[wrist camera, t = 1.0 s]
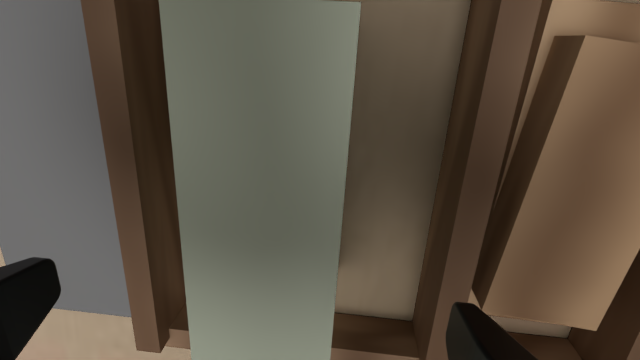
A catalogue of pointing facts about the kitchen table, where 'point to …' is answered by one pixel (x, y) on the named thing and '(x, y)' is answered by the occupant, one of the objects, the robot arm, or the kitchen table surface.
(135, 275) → the rack
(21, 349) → the robot arm
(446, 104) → the kitchen table surface
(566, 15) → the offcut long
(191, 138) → the pale green block
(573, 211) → the offcut short
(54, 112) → the mat
